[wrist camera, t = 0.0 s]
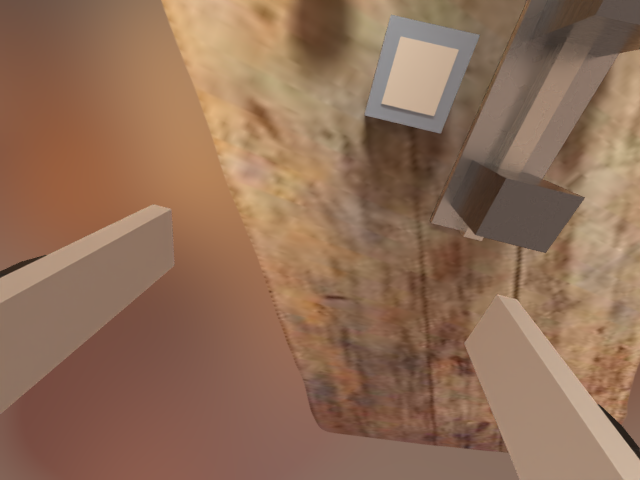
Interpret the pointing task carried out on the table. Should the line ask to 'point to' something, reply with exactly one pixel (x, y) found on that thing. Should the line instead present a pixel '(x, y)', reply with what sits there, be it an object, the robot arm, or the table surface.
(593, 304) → the table surface
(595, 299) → the table surface
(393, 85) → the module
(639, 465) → the robot arm
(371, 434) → the table surface
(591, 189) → the table surface
